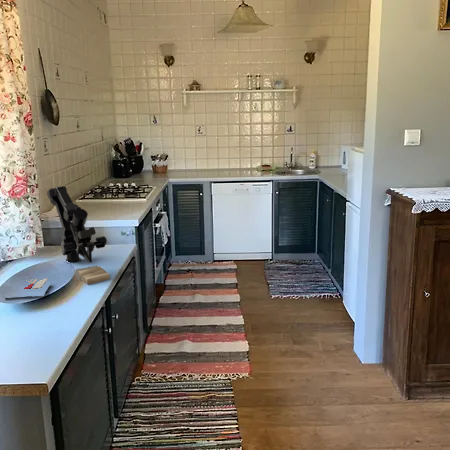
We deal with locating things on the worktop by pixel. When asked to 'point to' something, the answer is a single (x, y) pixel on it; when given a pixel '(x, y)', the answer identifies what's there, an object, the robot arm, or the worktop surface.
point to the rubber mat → (82, 269)
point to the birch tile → (93, 275)
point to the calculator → (37, 285)
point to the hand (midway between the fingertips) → (90, 262)
